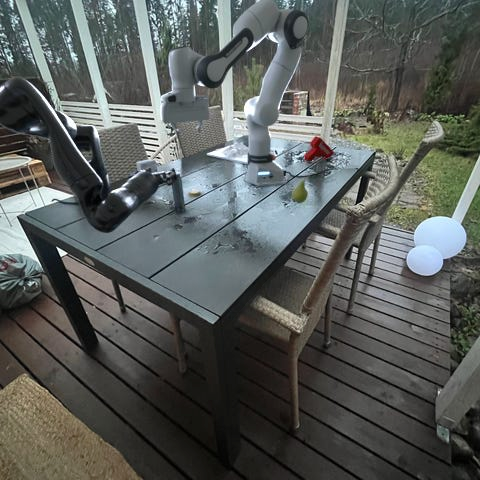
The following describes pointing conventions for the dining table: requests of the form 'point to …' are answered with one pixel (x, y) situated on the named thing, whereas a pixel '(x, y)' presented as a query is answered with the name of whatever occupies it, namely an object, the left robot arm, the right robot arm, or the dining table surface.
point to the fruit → (300, 192)
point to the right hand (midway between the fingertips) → (188, 133)
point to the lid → (194, 192)
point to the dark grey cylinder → (178, 195)
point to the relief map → (232, 153)
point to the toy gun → (318, 150)
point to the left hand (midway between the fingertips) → (161, 170)
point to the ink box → (147, 165)
